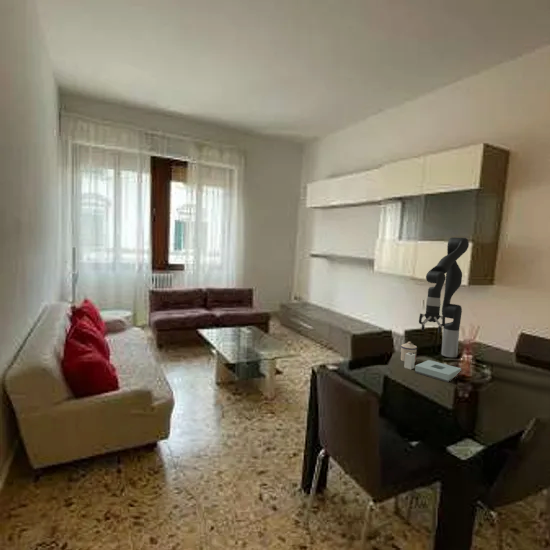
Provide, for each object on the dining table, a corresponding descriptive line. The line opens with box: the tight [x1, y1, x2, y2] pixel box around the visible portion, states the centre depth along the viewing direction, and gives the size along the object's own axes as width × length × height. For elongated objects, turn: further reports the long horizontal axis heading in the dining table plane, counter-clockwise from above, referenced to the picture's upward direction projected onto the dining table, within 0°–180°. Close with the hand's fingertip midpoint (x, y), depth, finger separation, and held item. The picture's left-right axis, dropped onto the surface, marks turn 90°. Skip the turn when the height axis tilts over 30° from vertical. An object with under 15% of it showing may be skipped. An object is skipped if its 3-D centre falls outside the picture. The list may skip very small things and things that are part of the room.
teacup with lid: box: [400, 341, 418, 363], centre depth 226 cm, size 12×9×12 cm
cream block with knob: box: [403, 353, 416, 370], centre depth 212 cm, size 4×4×9 cm
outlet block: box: [414, 359, 462, 383], centre depth 203 cm, size 16×18×4 cm
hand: (430, 332), depth 221 cm, fingers open, 8 cm apart
